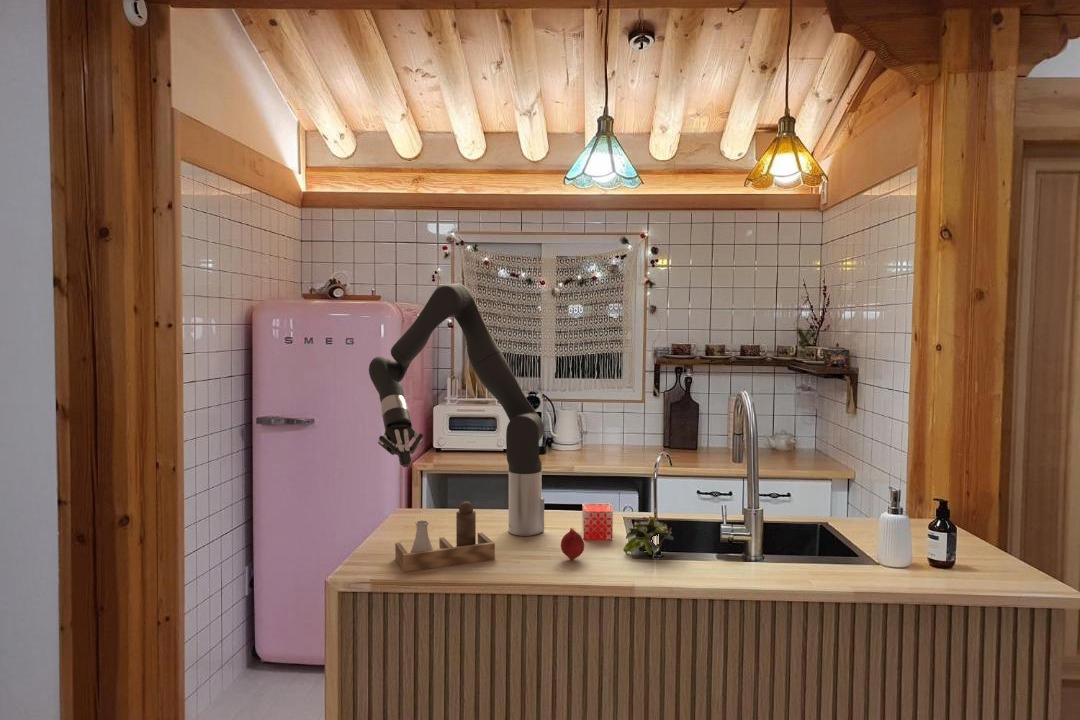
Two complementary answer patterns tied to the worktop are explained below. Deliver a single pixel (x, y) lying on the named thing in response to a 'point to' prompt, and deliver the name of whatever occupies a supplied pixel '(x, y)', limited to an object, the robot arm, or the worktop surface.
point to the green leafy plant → (647, 535)
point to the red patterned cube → (597, 522)
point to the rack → (445, 554)
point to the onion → (572, 544)
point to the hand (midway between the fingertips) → (406, 465)
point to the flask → (421, 538)
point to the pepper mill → (465, 525)
